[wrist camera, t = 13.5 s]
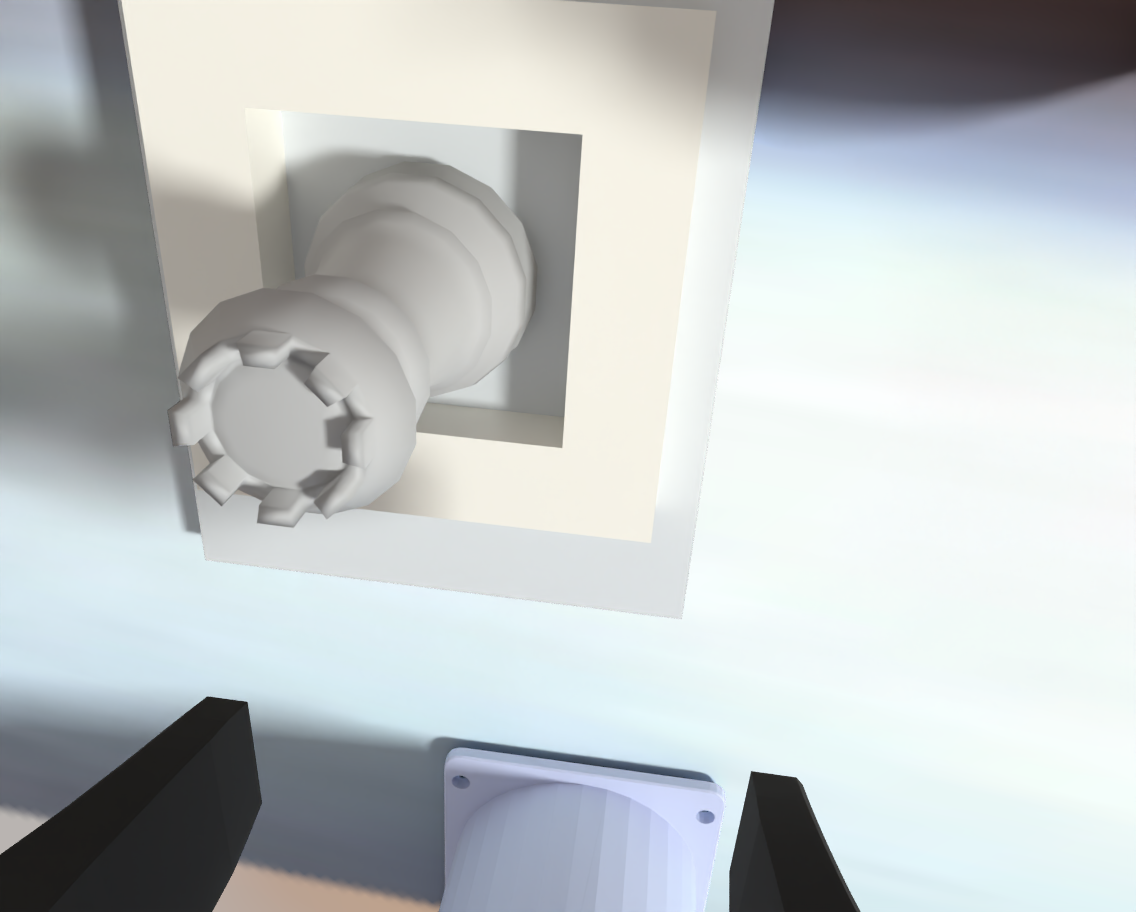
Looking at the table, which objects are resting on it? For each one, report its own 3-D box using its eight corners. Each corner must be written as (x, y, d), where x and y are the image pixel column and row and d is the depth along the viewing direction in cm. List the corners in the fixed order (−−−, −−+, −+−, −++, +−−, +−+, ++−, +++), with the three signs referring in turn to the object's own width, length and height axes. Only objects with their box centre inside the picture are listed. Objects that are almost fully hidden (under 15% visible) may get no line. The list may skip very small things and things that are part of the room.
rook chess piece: (407, 405, 19) (245, 633, 12) (285, 226, 18) (17, 366, 11) (582, 315, 18) (512, 512, 11) (465, 111, 16) (295, 184, 9)
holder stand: (681, 594, 22) (681, 660, 20) (223, 539, 23) (174, 595, 21) (797, -187, 14) (816, -223, 12) (115, -219, 15) (19, -259, 13)
